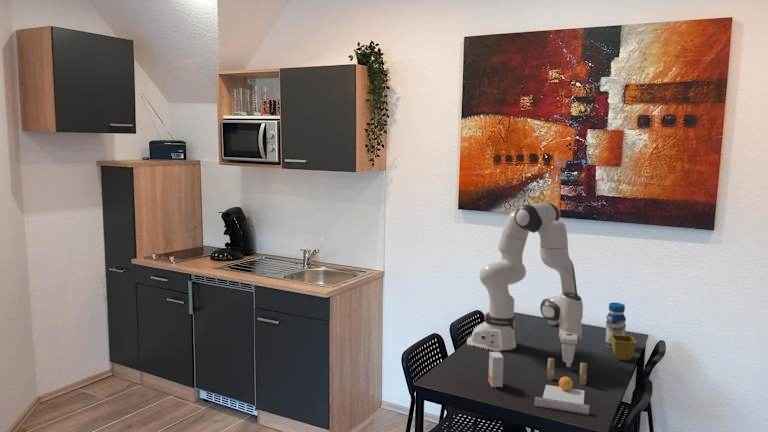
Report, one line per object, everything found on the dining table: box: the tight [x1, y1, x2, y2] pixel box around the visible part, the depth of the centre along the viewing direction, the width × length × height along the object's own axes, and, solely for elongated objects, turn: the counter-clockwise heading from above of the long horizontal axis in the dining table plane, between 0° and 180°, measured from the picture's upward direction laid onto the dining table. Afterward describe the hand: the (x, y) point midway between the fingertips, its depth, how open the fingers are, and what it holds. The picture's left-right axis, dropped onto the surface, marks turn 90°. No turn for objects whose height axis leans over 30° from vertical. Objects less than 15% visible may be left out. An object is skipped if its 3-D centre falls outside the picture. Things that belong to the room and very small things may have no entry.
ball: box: [558, 376, 574, 391], centre depth 213 cm, size 5×5×5 cm
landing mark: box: [542, 384, 586, 405], centre depth 209 cm, size 14×14×1 cm
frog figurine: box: [547, 320, 559, 326], centre depth 294 cm, size 6×7×7 cm
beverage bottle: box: [604, 302, 627, 349], centre depth 261 cm, size 8×8×20 cm
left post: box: [546, 357, 555, 381], centre depth 223 cm, size 2×2×8 cm
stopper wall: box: [533, 396, 590, 415], centre depth 197 cm, size 18×2×2 cm, turn 69°
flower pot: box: [611, 335, 637, 361], centre depth 247 cm, size 9×9×9 cm
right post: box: [578, 362, 588, 386], centre depth 219 cm, size 2×2×8 cm
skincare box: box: [488, 351, 504, 389], centre depth 217 cm, size 6×4×12 cm
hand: (568, 365), depth 233 cm, fingers closed
